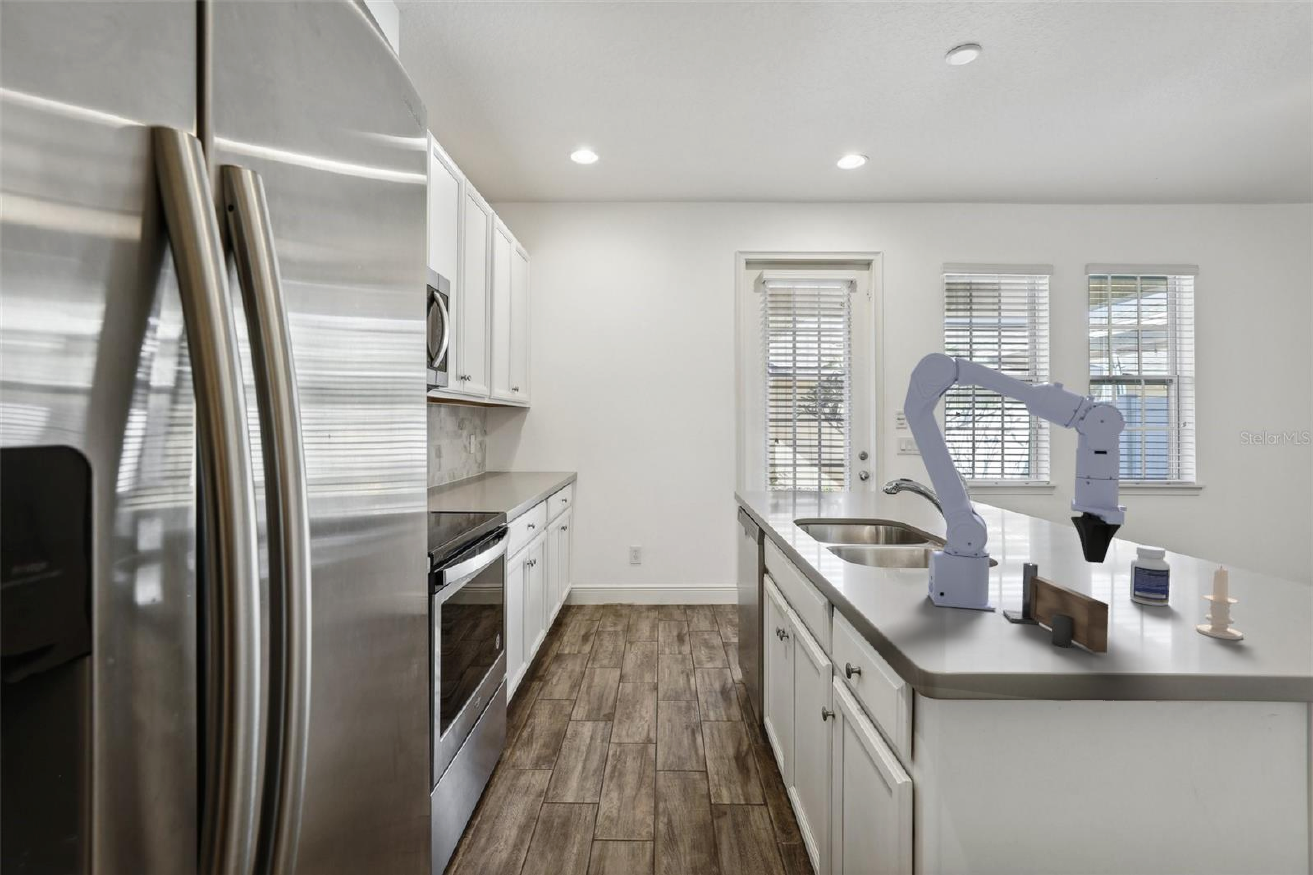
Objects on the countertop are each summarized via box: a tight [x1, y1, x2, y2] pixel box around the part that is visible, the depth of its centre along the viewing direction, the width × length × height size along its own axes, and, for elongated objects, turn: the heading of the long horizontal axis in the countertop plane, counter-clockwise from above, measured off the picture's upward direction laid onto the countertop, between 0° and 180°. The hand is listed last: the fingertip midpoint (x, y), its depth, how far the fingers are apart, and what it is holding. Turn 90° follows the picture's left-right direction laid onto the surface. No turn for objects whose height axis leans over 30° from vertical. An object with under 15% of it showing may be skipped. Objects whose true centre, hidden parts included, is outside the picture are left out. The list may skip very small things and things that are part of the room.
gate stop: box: [1051, 614, 1073, 648], centre depth 88 cm, size 2×2×4 cm
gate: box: [1030, 575, 1109, 654], centre depth 90 cm, size 15×2×7 cm, turn 0°
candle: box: [1196, 565, 1244, 641], centre depth 93 cm, size 5×5×10 cm
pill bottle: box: [1129, 545, 1171, 607], centre depth 109 cm, size 5×5×10 cm
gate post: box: [1002, 562, 1040, 625], centre depth 99 cm, size 4×4×9 cm
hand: (1094, 561), depth 99 cm, fingers closed
